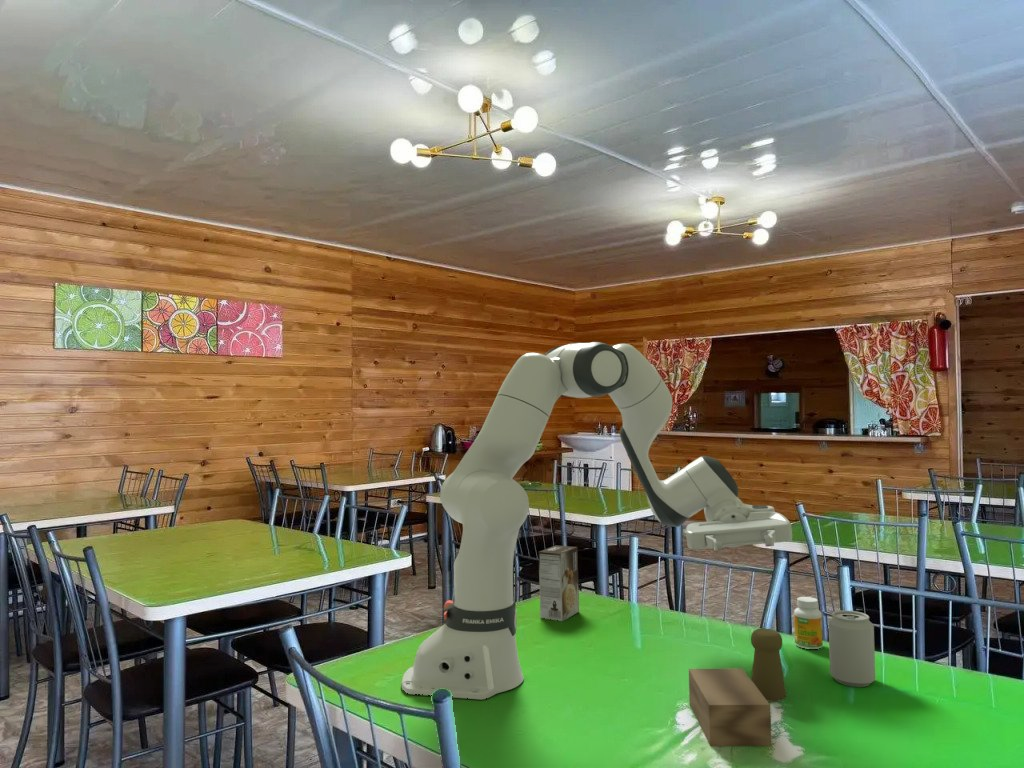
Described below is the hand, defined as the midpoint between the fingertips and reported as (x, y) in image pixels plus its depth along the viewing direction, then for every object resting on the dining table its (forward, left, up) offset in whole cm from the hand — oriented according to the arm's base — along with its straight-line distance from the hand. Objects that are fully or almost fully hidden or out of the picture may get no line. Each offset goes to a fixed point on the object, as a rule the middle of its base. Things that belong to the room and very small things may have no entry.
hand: (744, 544), depth 139 cm
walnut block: (-9, -22, -24) cm, 34 cm away
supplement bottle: (+17, +15, -24) cm, 33 cm away
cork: (+1, -10, -24) cm, 26 cm away
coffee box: (-34, +39, -24) cm, 57 cm away
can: (+18, -4, -24) cm, 30 cm away
